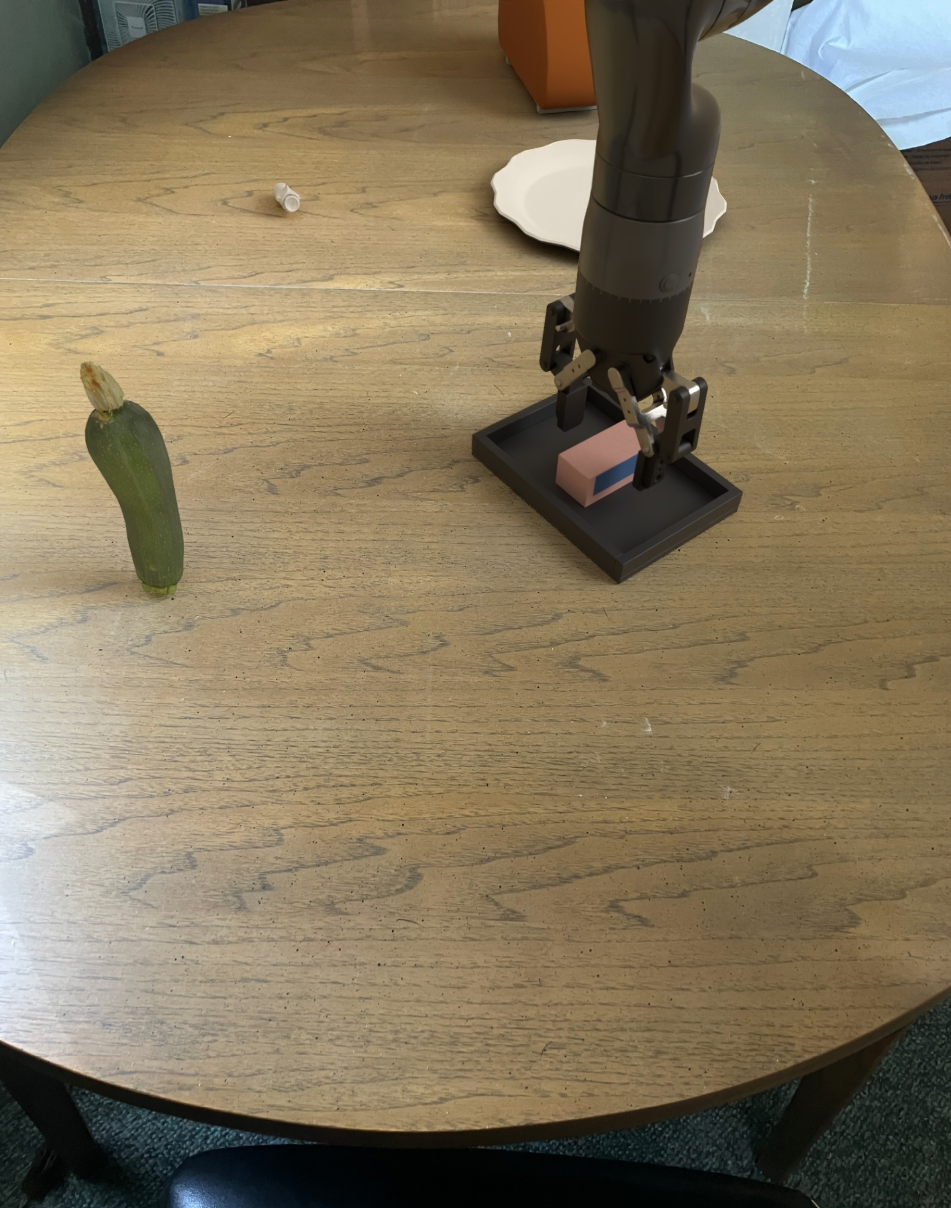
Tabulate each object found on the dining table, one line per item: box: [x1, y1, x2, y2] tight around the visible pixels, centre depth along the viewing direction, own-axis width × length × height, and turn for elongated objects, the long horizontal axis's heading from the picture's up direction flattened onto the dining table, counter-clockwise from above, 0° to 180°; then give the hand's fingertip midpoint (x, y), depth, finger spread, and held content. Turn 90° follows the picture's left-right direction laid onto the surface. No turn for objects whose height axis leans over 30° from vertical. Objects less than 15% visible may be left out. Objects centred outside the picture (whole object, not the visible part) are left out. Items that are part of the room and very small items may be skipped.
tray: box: [471, 377, 744, 585], centre depth 75 cm, size 18×13×2 cm
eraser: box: [556, 420, 641, 507], centre depth 74 cm, size 4×7×3 cm, turn 128°
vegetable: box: [79, 360, 185, 595], centre depth 60 cm, size 4×4×20 cm
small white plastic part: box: [272, 182, 302, 213], centre depth 101 cm, size 4×6×3 cm, turn 177°
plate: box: [489, 138, 728, 254], centre depth 103 cm, size 25×25×2 cm
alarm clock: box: [497, 0, 597, 115], centre depth 117 cm, size 23×9×17 cm, turn 13°
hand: (605, 454), depth 73 cm, fingers open, 8 cm apart
